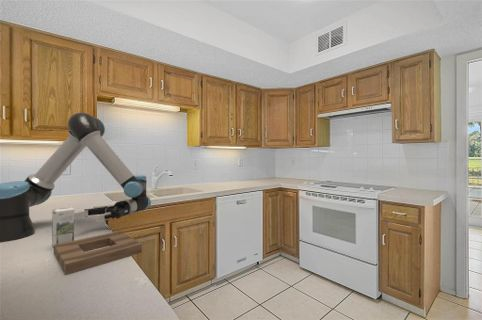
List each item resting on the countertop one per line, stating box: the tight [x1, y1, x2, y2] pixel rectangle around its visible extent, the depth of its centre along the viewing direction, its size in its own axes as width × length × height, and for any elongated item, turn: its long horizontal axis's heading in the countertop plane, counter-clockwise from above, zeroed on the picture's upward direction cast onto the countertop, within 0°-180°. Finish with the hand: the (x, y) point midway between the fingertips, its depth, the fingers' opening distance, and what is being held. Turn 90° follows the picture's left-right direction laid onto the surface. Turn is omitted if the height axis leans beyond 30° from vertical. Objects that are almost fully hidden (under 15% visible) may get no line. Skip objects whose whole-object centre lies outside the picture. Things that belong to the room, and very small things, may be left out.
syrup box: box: [51, 206, 75, 248], centre depth 89 cm, size 6×6×14 cm
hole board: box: [53, 230, 143, 275], centre depth 82 cm, size 22×22×3 cm
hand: (84, 217), depth 97 cm, fingers open, 13 cm apart
